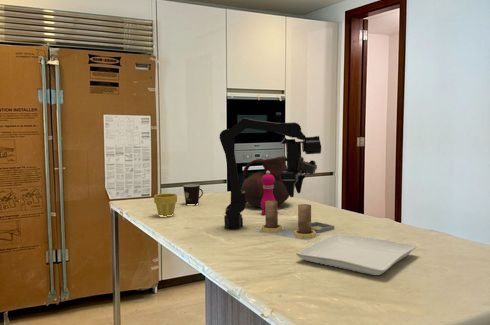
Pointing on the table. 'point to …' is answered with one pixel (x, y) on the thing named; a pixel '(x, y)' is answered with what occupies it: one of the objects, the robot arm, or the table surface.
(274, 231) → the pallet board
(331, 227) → the gray square tray
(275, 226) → the cylinder
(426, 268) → the table surface
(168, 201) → the plant pot
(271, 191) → the pink bowling pin
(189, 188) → the coffee mug
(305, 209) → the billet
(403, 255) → the square plate
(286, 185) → the robot arm
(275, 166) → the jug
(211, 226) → the table surface
